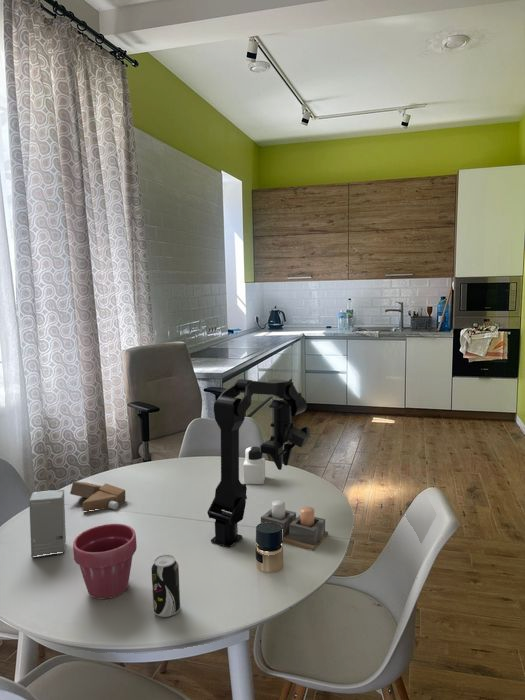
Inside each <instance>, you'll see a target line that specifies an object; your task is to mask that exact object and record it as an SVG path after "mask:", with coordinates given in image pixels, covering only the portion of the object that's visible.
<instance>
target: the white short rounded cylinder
mask: <svg viewBox="0 0 525 700" xmlns="http://www.w3.org/2000/svg"><path fill="white" fill-rule="evenodd" d="M271 509H272V518H274V519H278V520H283V519H284V518H285V510H286V502H285V501H284V500H273V501H272V502H271Z"/></svg>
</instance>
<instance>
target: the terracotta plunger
mask: <svg viewBox="0 0 525 700" xmlns="http://www.w3.org/2000/svg"><path fill="white" fill-rule="evenodd" d="M299 512H300V514H299V515H300V524H301V525H303V526H307V527H311V528H312V527H313V526H314V517H315V508H314V507H312V506H303V507H301V508H300V511H299Z"/></svg>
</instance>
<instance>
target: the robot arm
mask: <svg viewBox="0 0 525 700" xmlns="http://www.w3.org/2000/svg"><path fill="white" fill-rule="evenodd" d="M240 394H244V395H243V397H242V398H238V396H239V395H240ZM253 395H266V396H268V397H271V398H276V399H272V401H271V403H269V405H268V407H269V408H271V409H272V422H270V427H272V432H273V433H272V435H270V440H267V441H264V442H263V443H261V444H260V445H259V447H260V452H261V453H262V454H265V455H270V457H271V458H272V460H273V462H274V464H275V466H276V469H278V470H279V471H281V470H282V469H283V465H284V466H288V465H289V462H290V458H291V454H292V451H293V449H294V448H295V447H296V446H297V447H298V448H303V447H304V446H305V445H307V443H308V440H309V439H310V438H311V433H310V428H309V427H308V426H303V427H302V428H300V427H299V428H297V427H296V425H295V422H294V421H292V417H294V416H297V415H299V414H302V413H303V412H305V411H306V410H307V408H308V407H307V406H308V403H307V401H306V399H305V397H303V396H302V392H298V391H297V389H296V387H295V385H294V382H293V381H291V380H286V379H270V380H268V381H259V380H253V379H246V378H240V379H237V380H236V381H235V383H233V385H231V386H230V387H228V388H227V389H225V390H224V391H222V393H220V395H219V396H218V398H217V399H216V400H215V401H214V403H213V413H214V419H215V423H216V424H217V426H218V427H219V429H220V481H219V483H218V484H217V486H216V488H215V492H214V497H213V500H212V502H211V504H210V506H209V508H208V510H207V515H208V518H209V519H212V520H215V521H214V537H212V538H211V539H210V542H211V543H213V544H217V545H220V546H224V547H227V548H231V547H232V546H234V545H235V544H236V543H237V542H238V541H239V540H241V539H243V535H241V534H239V533H238V529H239V528H238V523H239V522H241V521H242V520H243V519H244V514H245V509H246V504H247V503H246V502H247V499H248V498H247V497H248V496H247V484H244V483H241V481H240V428H241V426H242V425H243V423H244V421H245V419H246V418H245V417H246V413H247V411H248V409H249V408H250V406H251V405H252V397H253ZM272 440H273V441H272Z"/></svg>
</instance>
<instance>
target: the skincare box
mask: <svg viewBox="0 0 525 700" xmlns="http://www.w3.org/2000/svg"><path fill="white" fill-rule="evenodd" d="M28 502H29V528H30V553H31V554H30V556H31V557H32V556H37V555H43V554H50V553H57V552H63V551H64V552H65V550H64V549H65V548H66V545H65V543H67V536H66V534H67V533H66V511H65V510H66V508H65V489H59V490H58V489H56V490H52V489H51V490H49V489H48V490H45V491H34V492H32V493H31V495H30V499H29V501H28Z"/></svg>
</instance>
